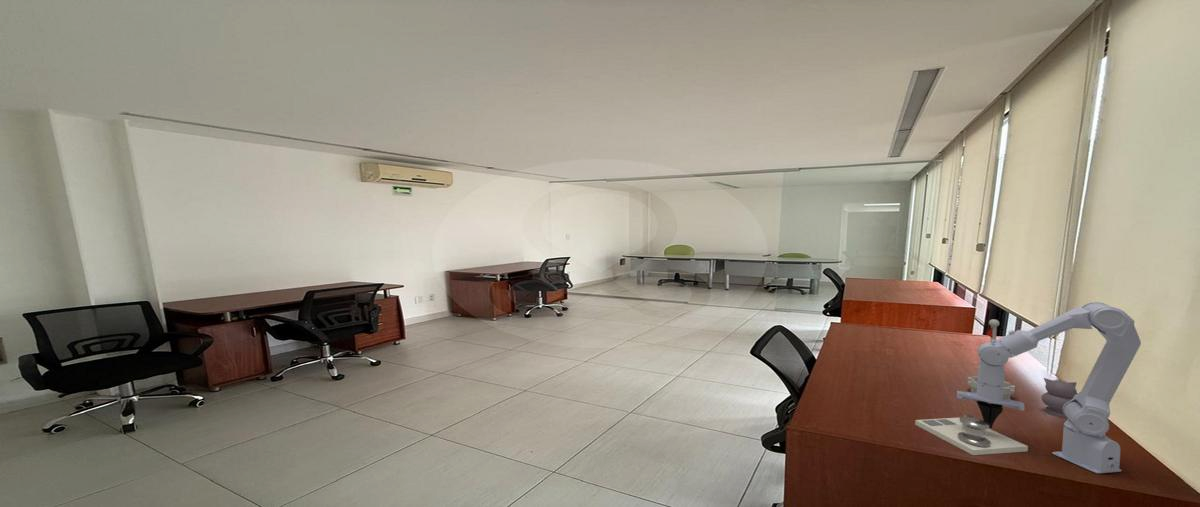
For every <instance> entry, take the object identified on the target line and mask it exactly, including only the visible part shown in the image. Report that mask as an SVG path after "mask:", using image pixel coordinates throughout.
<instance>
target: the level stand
mask: <svg viewBox="0 0 1200 507" xmlns="http://www.w3.org/2000/svg"><path fill="white" fill-rule="evenodd" d="M914 425H915V426H917V427H919V428H920V429H923V430H924V431H927V432H928V433H930V434H932V435H934V436H936V437H938V438H939V439H941V440H943V441H946V442H947V443H948V444H951V445H953V446H955V447H956V448H959V449H961V451H965V452H966V453H967V454H970V455H972V456H980V455H981V456H983V455H995V454H996V455H998V454H1010V453H1021V452H1022V453H1023V452H1026V453H1027V452H1028V451H1029V446H1028V445H1026V444H1024V443H1022V442H1020V441H1017V440H1015V439H1013V438H1011V437H1009V436H1006V435H1004V434H1002V433H999V432H998V431H995V430H993V429H991V428H989V429H986V433H985V438H986V439H988V440H989V441H990V442H991V445H990V446H986V447H985V446H977V445H973V444H970V443H967V442H965V441H963V440H961V439H960V438H959V437H958V433H960V432H962V425H963V424H962V423H961V422H960V417H947V418H945V417H944V418H932V419H931V418H929V419H928V418H927V419H915V420H914Z"/></svg>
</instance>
